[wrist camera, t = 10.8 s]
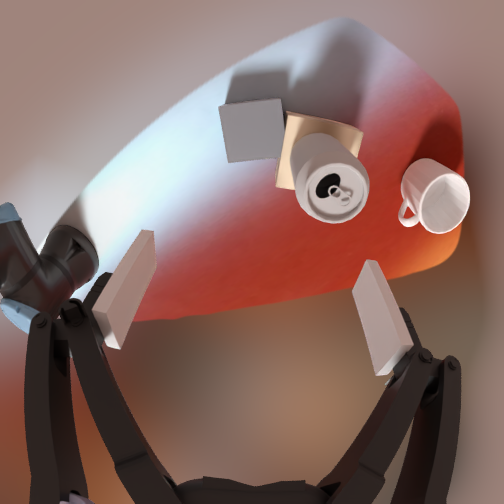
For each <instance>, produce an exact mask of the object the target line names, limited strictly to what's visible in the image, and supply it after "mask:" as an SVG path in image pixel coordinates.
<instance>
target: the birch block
mask: <svg viewBox="0 0 504 504" xmlns="http://www.w3.org/2000/svg"><path fill="white" fill-rule="evenodd" d="M284 129H285V134H284V140H283V146H282V151H281V157H280V158H278V160H277V166H276V172H275V178H276V187H280V188H286V189H292V190H295V187H294V182H293V177H292V172H291V167H290V154H291V150H292V149H293V147H294V145H295V144H296V142H298V141H299V140H300V139H301V138H302V137H304V136H306V135H309V134H311V133H324V134H328V135H330V136H332V137H334V138H335V139H337V140H338V141H339V142H340V143H341V144H342V145H344V146H345V147H346V148H347V149H348V150H349V151H350V152H351V153H352V154H353V155H354V156H355V157H356V158H357V156H358V152H359V148H360V144H361V140H362V136H363V132H362V131H360V130H358V129H357V128H355V127H353V126H352V125H348V124H345V123H341V122H337V121H333V120H329V119H324V118H320V117H315V116H310V115H306V114H300V113H295V112H290V111H286V113H285V119H284Z"/></svg>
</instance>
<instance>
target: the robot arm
mask: <svg viewBox="0 0 504 504" xmlns="http://www.w3.org/2000/svg"><path fill="white" fill-rule="evenodd" d="M98 266H99V263H98V257H97V254H96V252H95V249H94V248H93V246H92V244H91V243H90V242H89V240H88V239H87V238H86V237H85V236H84V235H83V234H82V233H81V232H79V231H78V230H76V229H75V228H72V227H70V226H66V225H61V226H58V227H56V228H55V229H54V230H53V231H52V232H51V233H50V234H49V235H48V237H47V239H46V243H45V245H44V247H43V249H42V251H41V253H40V255H38V253H37V251H36V249H35V248H34V246H33V244H32V242H31V240H30V238H29V236H28V234H27V232H26V230H25V228H24V225H23V223H22V219H21V218H20V217H19V215H18V213H17V211H16V209H15V207H14V206H13V204H11V203H9V202H7V203H4V204H2V205H1V206H0V293H1V294H2V296H3V298H2V300H1V303H0V307H1V309H2V311H3V313H4V314H5V315H6V317H7V318H8V319H9V320H10V321H11V322H12V323H13V324H15V325H16V326H17V327H18V328H20V329H21V330H23V331H24V332H26V333H28V334H29V336H28V344H27V354H26V366H25V384H24V385H25V386H24V413H25V431H26V442H27V451H28V458H29V465H30V471H31V476H32V477H31V487H30V502H29V504H95V503H93V502H92V501H91V500H89V499H88V490H87V483H86V479H85V474H84V470H83V466H82V462H81V457H80V453H79V447H78V442H77V435H76V429H75V422H74V414H73V405H72V394H71V380H70V357H72V358H73V361H74V365H75V368H76V371H77V375H78V378H79V381H80V384H81V387H82V389H83V393H84V395H85V398H86V401H87V403H88V406H89V409H90V411H91V414H92V416H93V419H94V421H95V423H96V426H97V428H98V430H99V432H100V434H101V437H102V438H103V441H104V443H105V445H106V447H107V449H108V451H109V453H110V455H111V457H112V459H113V461H114V464H115V470H116V473H117V474H118V477H119V478H120V480H121V482H122V483H123V485H124V487H125V488H126V490H127V491H128V493H129V495H130V496H131V498H132V499H133V501H134V502H135V504H371V503H372V502H373V500H374V499H375V498H376V496H377V495H378V493H379V492H380V490H381V489H382V487H383V485H384V483H385V478H384V474H385V472H386V470H387V468H388V467H389V465H390V463H391V462H392V459H393V458H394V456H395V454H396V452H397V451H398V449H399V447H400V445H401V443H402V441H403V439H404V437H405V435H406V433H407V431H408V428H409V426H410V424H411V422H412V419H413V417H414V420H413V425H412V430H411V435H410V439H409V443H408V448H407V452H406V456H405V459H404V463H403V466H402V470H401V473H400V476H399V479H398V482H397V485H396V488H395V491H394V494H393V497H392V500H391V503H390V504H446V498H447V494H448V490H449V486H450V482H451V477H452V472H453V468H454V462H455V456H456V449H457V442H458V434H459V423H460V409H461V366H460V363H459V361H458V360H457V359H456V358H455V357H454V356H450V355H449V356H447V357H446V358H445V359H444V360H439V359H436V358H433V355H432V354H431V352H430V351H429V350H428V349H425V348H422V346H421V343H420V341H419V338H418V336H417V333H416V331H415V328H414V326H413V324H412V323H411V319H410V317H409V314H408V313H407V312H406V311H405V310H404V308H399V307H398V305H397V303H396V301H395V298H394V296H393V294H392V292H391V290H390V287H389V285H388V283H387V281H386V279H385V277H384V275H383V273H382V271H381V269H380V267H379V265H378V263H377V261H374V260H366V262H365V264H364V266H363V269H362V271H361V273H360V275H359V277H358V280H357V282H356V284H355V286H354V288H353V290H352V294H353V297H354V299H355V303H356V306H357V309H358V312H359V316H360V319H361V323H362V326H363V329H364V333H365V336H366V340H367V344H368V347H369V351H370V354H371V359H372V362H373V366H374V371H375V374H376V375H387V374H388V373H389V372H390V371H391V370H392V369H393V371H394V375H393V376H392V377H391V378H390V379H389V380H388V381H387V382H386V383H385V385H387V384H388V385H387V387H386V389H385V391H384V392H383V394H382V396H381V398H380V400H379V401H378V403H377V405H376V407H375V408H374V410H373V412H372V413H371V415H370V417H369V418H368V420H367V422H366V423H365V425H364V426H363V428H362V430H361V431H360V433H359V434H358V436H357V437H356V439H355V440H354V441H353V443H352V444H351V446H350V447H349V449H348V450H347V451H346V453H345V454H344V456H343V457H342V458H341V460H340V461H339V462H338V464H337V465H336V466H335V468H334V469H333V470H332V471H331V472H330V473H329V474H328V475H327V476H326V477H324V478H323V479H322V480H321V481H320V482H319V483H318V485H317V486H313V485H310V484H306V483H305V480H301V481H280V482H276V483H272V484H267V485H262V486H257V487H256V486H255V487H254V486H250V485H247V484H243V483H240V482H236V481H233V480H230V479H222V478H213V477H205V476H203V478H202V479H194V480H190V481H186V482H184V483H181V484H179V485H178V486H177V484H176V483H175V482H174V480H173V479H172V478H171V476H170V475H169V473H168V472H167V470H166V469H165V468H164V466H163V465H162V464H161V463H160V461H159V460H158V458H157V456H156V455H155V453H154V452H153V450H152V449H151V447H150V445H149V444H148V442H147V440H146V438H145V437H144V435H143V433H142V432H141V430H140V428H139V426H138V424H137V423H136V421H135V419H134V417H133V415H132V414H131V411H130V409H129V407H128V405H127V403H126V401H125V399H124V397H123V395H122V393H121V391H120V389H119V386H118V385H117V382H116V380H115V377H114V375H113V373H112V370H111V368H110V365H109V363H108V361H107V358H106V355H105V353H104V351H103V348H102V343H103V341H104V340H105V342H106V344H107V346H109V347H112V348H116V349H121V347H122V344H123V341H124V339H125V337H126V334H127V332H128V330H129V327H130V325H131V322H132V320H133V318H134V316H135V313H136V311H137V309H138V306H139V304H140V302H141V300H142V298H143V295H144V293H145V291H146V289H147V287H148V285H149V282H150V280H151V278H152V276H153V274H154V272H155V270H156V268H157V263H156V253H155V242H154V231H149V230H141V232H140V233H139V235H138V236H137V238H136V239H135V241H134V242H133V244H132V245H131V247H130V248H129V250H128V251H127V253H126V254H125V256H124V257H123V259H122V260H121V262H120V263H119V265H118V266H117V268H116V270H115V271H114V273H108V272H105V273H103V274H102V275H101V276H100V277H98V279H97V280H96V282H95V283H94V286H93V287H92V288H91V291H89V293H88V295H87V296H86V298H85V299H84V301H83V303H82V301H80V300H79V299H76V298H71V299H70V297H71V296H72V294H73V293H74V291H75V290H77V289H78V288H80V287H81V286H83V285H84V284H85V283H87V282H89V281H90V280H91V279H92V278H93V277H94V275H95V274H96V273H97V271H98ZM59 315H60V317H61V319H57V318H58V316H59Z"/></svg>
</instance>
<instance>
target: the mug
mask: <svg viewBox="0 0 504 504" xmlns="http://www.w3.org/2000/svg"><path fill="white" fill-rule="evenodd" d="M401 192H402V197H403V199H404V201H403V203H402V205H401V208H400V210H399V213H398V216H399V220H400V222H401V223H402V224H403V225H404V226H407V227H411V226H414V225H415V224H417V223H418V222H419V221H420V222H421V224H422V225H423V226H424V227H425V228H426V230H428V231H430V232H432V233H437V234H441V233H446V232H448V231H451V230H452V229H454V228H455V227H456V226H458V224H459V223H460V222H461V221H462V220H463V218H464V217H465V215H466V213H467V210H468V207H469V202H470V191H469V188H468V185H467V183H466V181H465V180H464V178H462V177H461V176H460V175H459V174H457V173H455V172H454V171H452V170H450V169H449V168H447V167H445V166H444V165H442V164H440V163H438V162H436V161H435V160H432V159H429V158H424V159H420V160H417V161H415V162H414V163H412V164H411V165H410V166H409V167H408V168H407V170H406V172H405V173H404V175H403V178H402V182H401ZM407 206H409V207H410V209H411V210H412V211H413V213H414V214H415V216H413V217H412V218H409V219H405V218H403V216H404V213H405V210H406V208H407Z"/></svg>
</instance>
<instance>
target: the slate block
mask: <svg viewBox="0 0 504 504" xmlns="http://www.w3.org/2000/svg"><path fill="white" fill-rule="evenodd" d="M218 108H219V114H220V119H221V125H222V131H223V137H224V142H225V148H226V154H227V159H228V163H234V162H242V161H251V160H260V159H270V158H280V157H281V151H282V146H283V140H284V134H285V129H284V121H283V112H282V104H281V98H280V97H279V98H268V99H258V100H250V101H242V102H235V103H229V104H224V105H222V106H219V107H218Z"/></svg>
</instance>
